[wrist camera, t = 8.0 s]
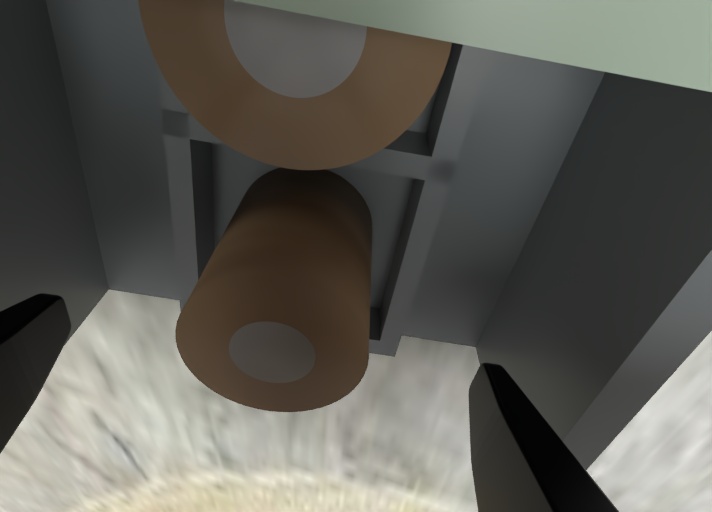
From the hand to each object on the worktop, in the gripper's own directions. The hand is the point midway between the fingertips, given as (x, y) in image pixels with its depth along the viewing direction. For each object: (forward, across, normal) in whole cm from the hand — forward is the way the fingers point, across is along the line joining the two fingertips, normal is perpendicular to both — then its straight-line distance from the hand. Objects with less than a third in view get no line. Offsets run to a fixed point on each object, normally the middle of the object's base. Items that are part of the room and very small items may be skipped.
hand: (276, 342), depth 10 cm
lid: (-1, 0, -14) cm, 14 cm away
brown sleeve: (+5, 0, 0) cm, 5 cm away
